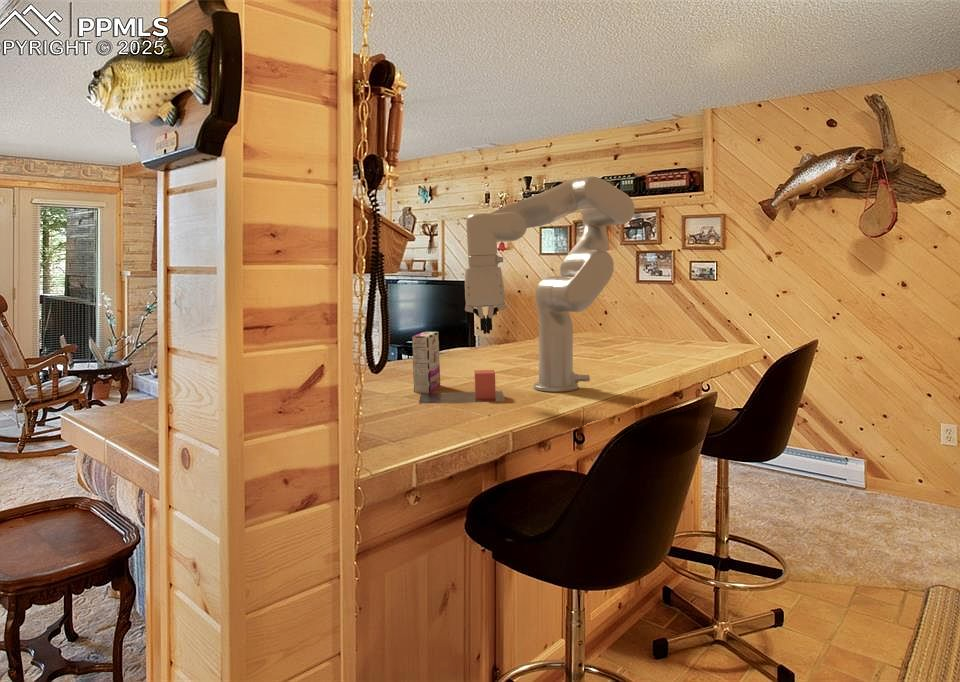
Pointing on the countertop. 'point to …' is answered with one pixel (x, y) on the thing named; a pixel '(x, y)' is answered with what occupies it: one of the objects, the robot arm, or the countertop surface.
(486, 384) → the red block
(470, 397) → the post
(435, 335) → the candy bar box
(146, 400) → the countertop surface
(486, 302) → the robot arm
